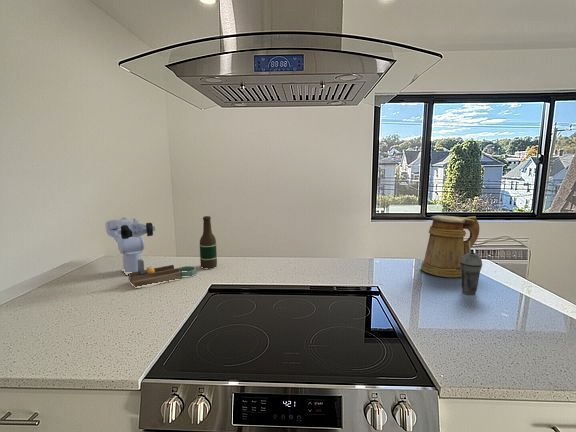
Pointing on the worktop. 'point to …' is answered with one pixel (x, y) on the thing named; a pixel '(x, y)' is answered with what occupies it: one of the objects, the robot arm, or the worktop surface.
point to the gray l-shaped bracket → (141, 267)
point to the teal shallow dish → (189, 270)
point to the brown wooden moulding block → (155, 276)
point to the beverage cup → (470, 272)
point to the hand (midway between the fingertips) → (141, 233)
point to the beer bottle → (208, 245)
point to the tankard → (448, 244)
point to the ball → (150, 270)
